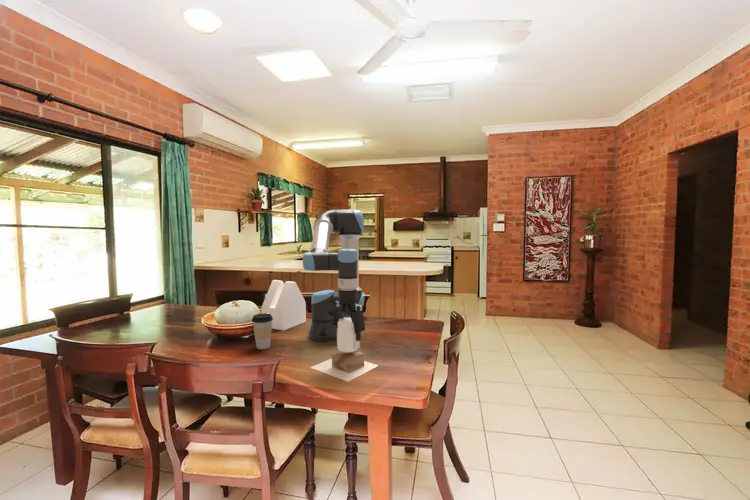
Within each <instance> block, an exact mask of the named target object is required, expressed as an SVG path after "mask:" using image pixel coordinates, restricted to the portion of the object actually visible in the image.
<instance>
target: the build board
mask: <svg viewBox="0 0 750 500" xmlns="http://www.w3.org/2000/svg"><path fill="white" fill-rule="evenodd" d="M377 367H379V365H378V364H376V363H371V362H368V361H366V360H364V366H362V367H360V368H358V369H356V370H354V371H352V372H350V373H347V372H344V371H342V370H339V369H336V368H333V367H332V357H331V358H329V359H327V360H323V362H320V363H318V364H314V365H313V366H310V367H309V368H310V369H313V370H316V371H318V372H320V373H324V374H326V375H330V376H332V377H334V378H337V379H339V380H342V381H345V382H350V381H352V380H354V379H356V378H357V377H360V376H361V375H362V376H363V374H366V373H367V372H369V371H371V370H373V369H375V368H377Z"/></svg>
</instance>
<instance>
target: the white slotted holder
mask: <svg viewBox="0 0 750 500" xmlns="http://www.w3.org/2000/svg"><path fill="white" fill-rule="evenodd" d="M270 283H271V284H270V285H269V288H268V290H267V293H266V295H265V297H264V300H263V303H262V305H261V314H262V313H269V314H271V316H272V317H273V320H272V330H280V331H286V330H288V329H291V328H293V327H296V326H298V325H301V324H304V323H306V322H307V304H306V303H307V302H306V301H305V298H304V295H302V292H301V290H300V288H299V286H298V284H297V282H296V281H289V280H288V281H287V280H285V282H284V281H283V280H279V279H273V280H271V282H270Z"/></svg>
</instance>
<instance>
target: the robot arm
mask: <svg viewBox="0 0 750 500" xmlns="http://www.w3.org/2000/svg"><path fill="white" fill-rule="evenodd" d="M363 217H364V216H363V212H362V211H361V210H359V209H329V210H326V211H324V212H322V213H321V214H320V215H318V217H316V219H315V220H314V223H313V227H312V228H313V236H312V237H313V238H312V241H311V247H310V250H309V251H308V252H304V253H303V256H302V268H303V269H304V271H309V272H310V271H312V272H315V271H323V272H324V271H337V272H338V273H337V275H338V276H337V284H338V285H337V288H338V290H337V293H336V291H335V290H333V289H325V290H320V291H316V292H314V293H313V294H312V295H311V301H310V302H311V303H310V304H311V324H310V326H309V327H310V328H309V331H308V334H307V336H308V339H309V340H311V341H315V342H328V341H329V342H330V341H333V340H336V343H337V342H338V322H339V319H342V318H344V317H351V320H352V322H353V325H354V330H355V332H354V333H353V348H354V350H356V349H357V350H358V349H360V348H361V346H360V341H361V339H362V332H364V331H366V323H365V317H364V312H363V311H364V305H365V304H364V303H365V296H366V295H365V293H364V292H363V289H362V288H361V287H360V285H359V284H360V282H359V281H360V279H359V278H360V277H359V275H360V274H359V273H360V269H359V267H360V264H359V263H360V260H359V253H360V251H359V249H360V247H359V246H360V245H359V241H360V238H362V237H363V236H362V233H365V225H364V218H363ZM332 233H335V234H336V233H338V237H339V238H340V240H341V248H340V249H338V251H336V252H335V251H334V252H333V251H331V252H329V247H330V246H329V245H330V238H331V234H332ZM357 350H356V351H357Z"/></svg>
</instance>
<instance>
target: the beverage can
mask: <svg viewBox="0 0 750 500" xmlns="http://www.w3.org/2000/svg"><path fill="white" fill-rule="evenodd" d="M354 332H355V330H354V325H353V322H352V320H351V317H350V316H345V317H344V318H342V319H339V322H338V342H337V341H336V345H337V347H336V348H337V349H338V351H339V352H340V351H342V352H347V353H348V352H354V351H358V349H356V350H354V348H353V333H354Z"/></svg>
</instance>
